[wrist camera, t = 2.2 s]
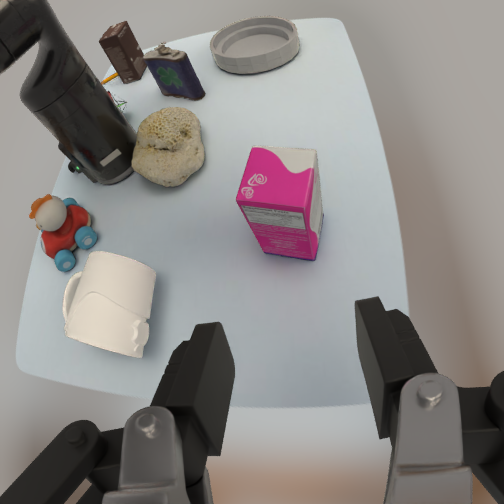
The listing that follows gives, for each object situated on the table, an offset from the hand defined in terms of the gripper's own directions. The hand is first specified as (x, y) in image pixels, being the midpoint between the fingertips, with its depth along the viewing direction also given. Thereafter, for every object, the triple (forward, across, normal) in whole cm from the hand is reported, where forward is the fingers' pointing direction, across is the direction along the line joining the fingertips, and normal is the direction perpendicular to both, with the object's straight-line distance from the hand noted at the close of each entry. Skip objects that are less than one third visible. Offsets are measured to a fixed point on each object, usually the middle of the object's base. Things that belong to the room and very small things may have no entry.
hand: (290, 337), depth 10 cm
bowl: (+52, 0, -20) cm, 56 cm away
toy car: (+30, +31, +2) cm, 43 cm away
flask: (+47, +14, -15) cm, 51 cm away
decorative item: (+36, +14, -5) cm, 39 cm away
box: (+56, +25, -24) cm, 66 cm away
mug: (+21, +21, +10) cm, 32 cm away
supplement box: (+26, 0, +6) cm, 26 cm away
